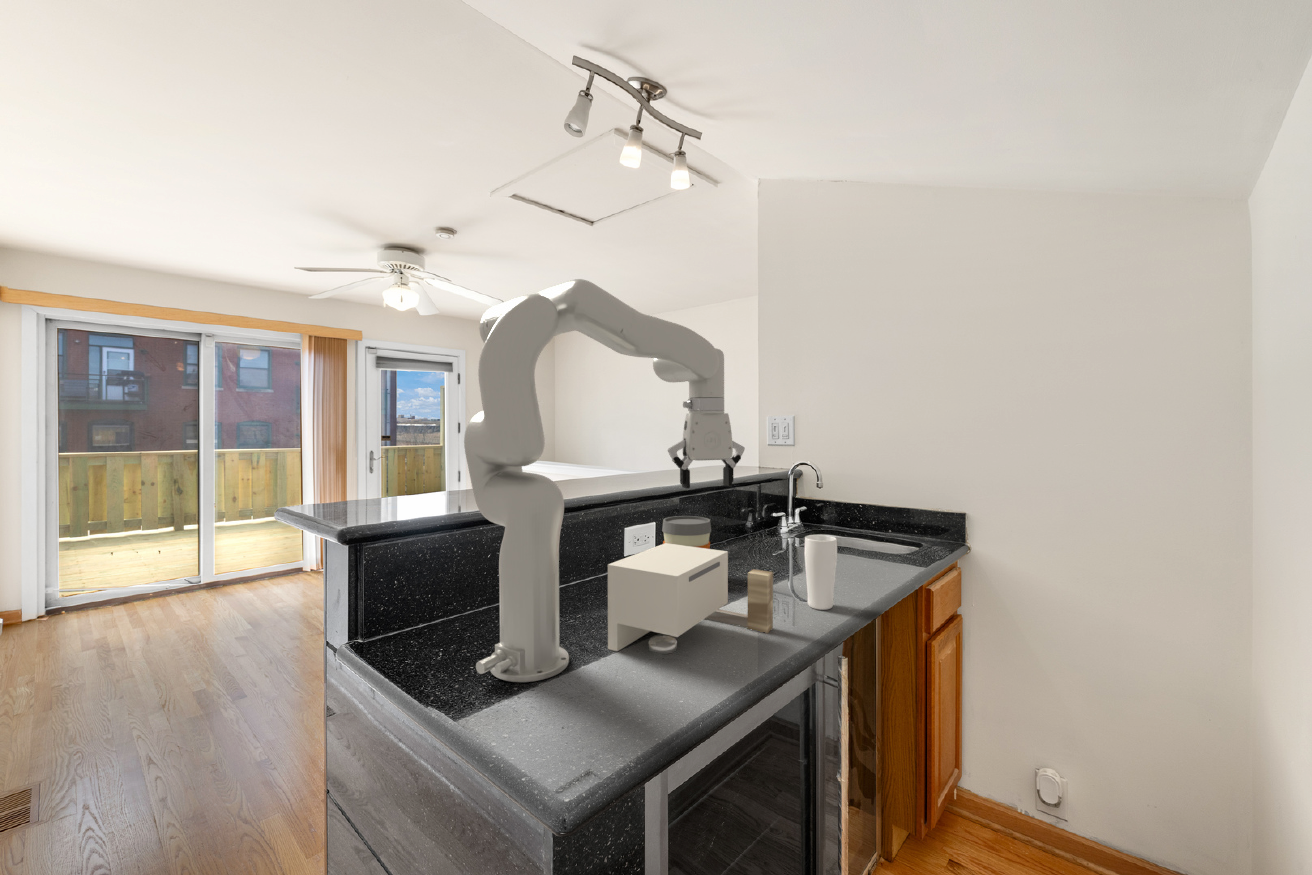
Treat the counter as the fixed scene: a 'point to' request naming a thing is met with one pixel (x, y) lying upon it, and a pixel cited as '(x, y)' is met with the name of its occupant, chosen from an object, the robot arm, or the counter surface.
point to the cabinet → (664, 591)
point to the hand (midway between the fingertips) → (707, 486)
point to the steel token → (662, 644)
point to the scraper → (753, 604)
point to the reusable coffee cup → (687, 531)
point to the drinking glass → (820, 570)
